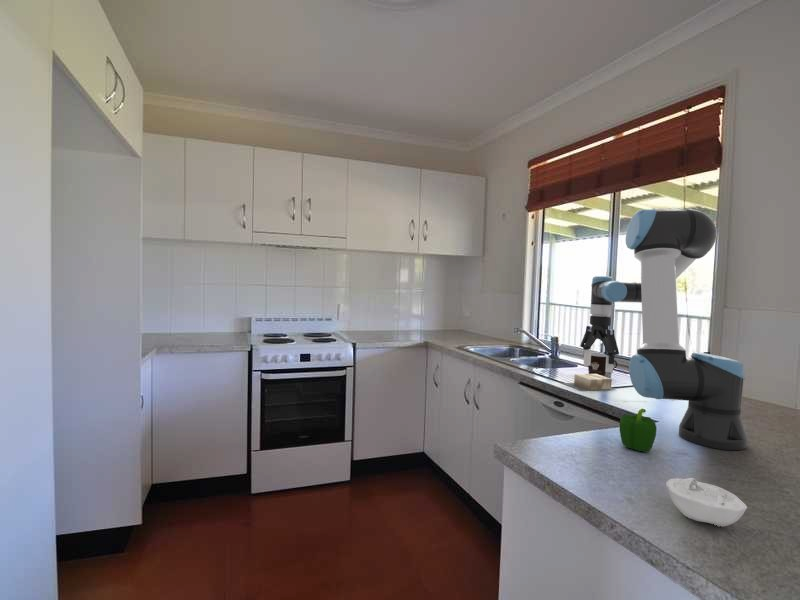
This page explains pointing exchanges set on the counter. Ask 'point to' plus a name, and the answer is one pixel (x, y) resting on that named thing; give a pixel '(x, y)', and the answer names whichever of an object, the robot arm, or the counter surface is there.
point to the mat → (583, 388)
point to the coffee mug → (598, 364)
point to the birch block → (592, 381)
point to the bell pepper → (637, 431)
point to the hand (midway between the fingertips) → (597, 368)
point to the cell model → (705, 502)
